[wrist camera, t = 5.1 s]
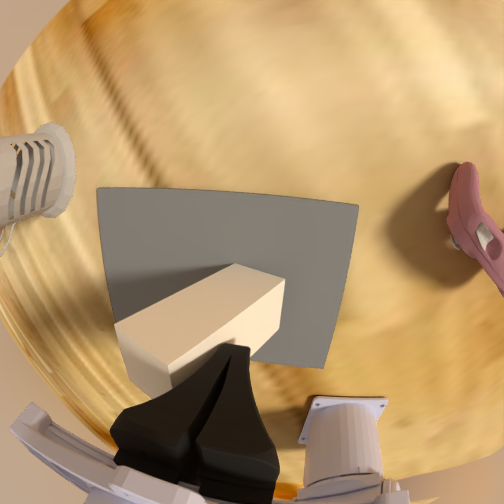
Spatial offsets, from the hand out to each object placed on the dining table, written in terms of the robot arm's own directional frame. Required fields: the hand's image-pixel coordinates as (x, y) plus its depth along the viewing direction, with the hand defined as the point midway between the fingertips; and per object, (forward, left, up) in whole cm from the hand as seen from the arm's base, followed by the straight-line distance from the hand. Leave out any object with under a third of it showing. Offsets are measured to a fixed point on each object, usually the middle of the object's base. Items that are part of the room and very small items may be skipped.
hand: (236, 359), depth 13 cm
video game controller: (+7, -17, -8) cm, 20 cm away
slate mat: (0, +4, -8) cm, 9 cm away
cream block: (0, 0, -7) cm, 7 cm away
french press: (+8, +22, -8) cm, 25 cm away
